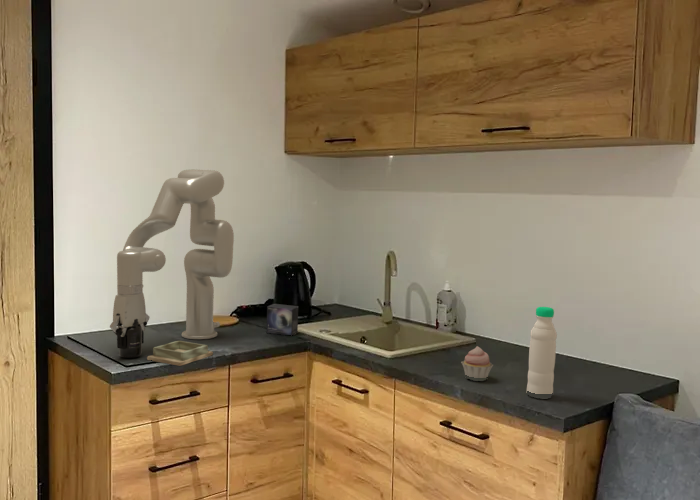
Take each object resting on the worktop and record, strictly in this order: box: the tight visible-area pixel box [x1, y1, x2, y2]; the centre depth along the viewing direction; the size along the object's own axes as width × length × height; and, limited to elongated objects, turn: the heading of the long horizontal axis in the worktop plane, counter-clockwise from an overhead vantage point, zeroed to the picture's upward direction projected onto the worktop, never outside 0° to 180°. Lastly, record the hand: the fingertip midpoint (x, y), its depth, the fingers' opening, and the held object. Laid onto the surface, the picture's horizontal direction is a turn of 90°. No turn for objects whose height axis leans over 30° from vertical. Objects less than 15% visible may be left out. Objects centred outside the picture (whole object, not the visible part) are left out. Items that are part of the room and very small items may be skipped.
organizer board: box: [146, 340, 214, 367], centre depth 216 cm, size 16×13×4 cm
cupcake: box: [460, 345, 494, 378], centre depth 204 cm, size 9×9×10 cm
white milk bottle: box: [526, 306, 558, 394], centre depth 188 cm, size 7×7×25 cm
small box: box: [266, 303, 299, 337], centre depth 255 cm, size 11×6×10 cm, turn 72°
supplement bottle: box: [118, 319, 143, 359], centre depth 214 cm, size 7×7×12 cm
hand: (130, 345), depth 214 cm, fingers closed on supplement bottle, 6 cm apart
